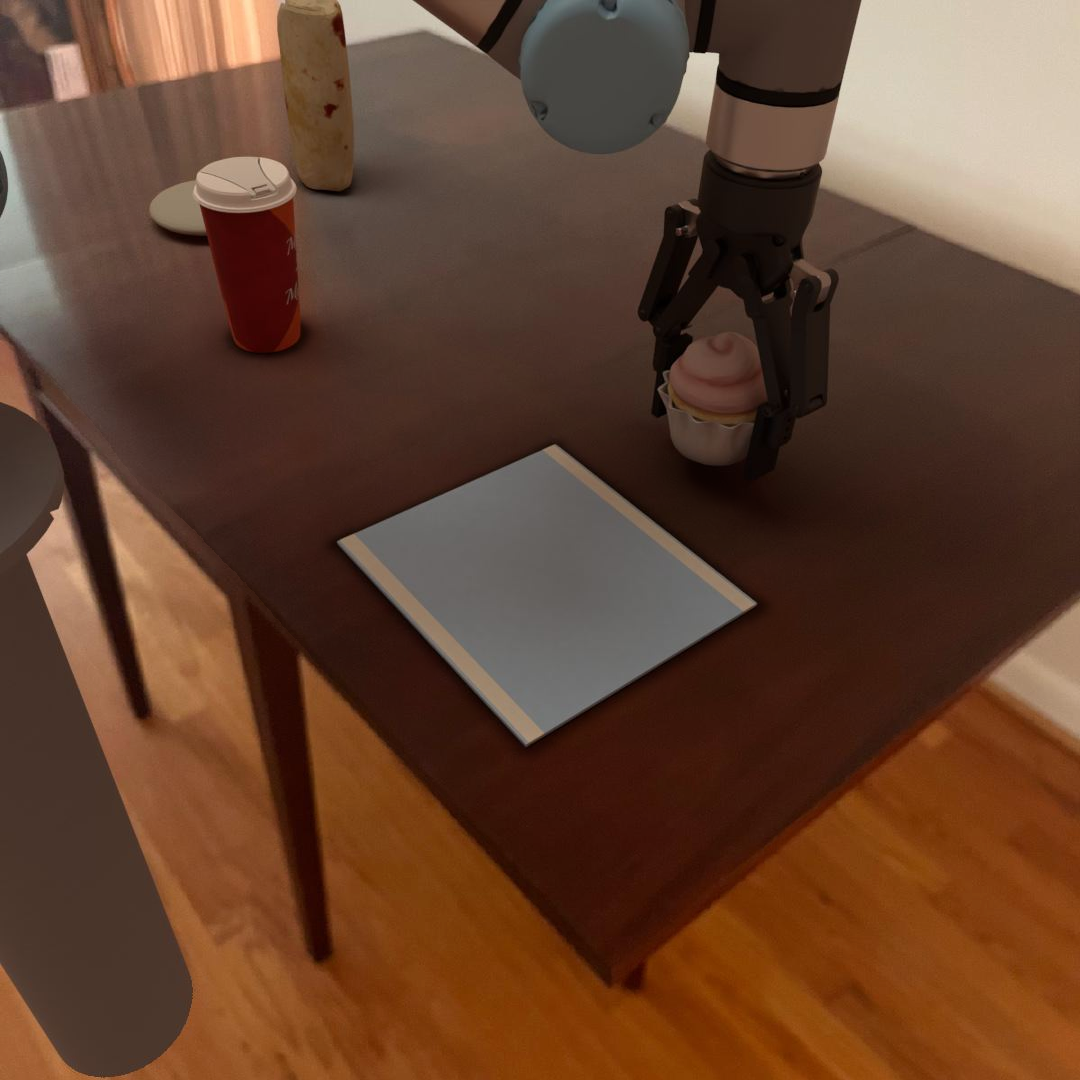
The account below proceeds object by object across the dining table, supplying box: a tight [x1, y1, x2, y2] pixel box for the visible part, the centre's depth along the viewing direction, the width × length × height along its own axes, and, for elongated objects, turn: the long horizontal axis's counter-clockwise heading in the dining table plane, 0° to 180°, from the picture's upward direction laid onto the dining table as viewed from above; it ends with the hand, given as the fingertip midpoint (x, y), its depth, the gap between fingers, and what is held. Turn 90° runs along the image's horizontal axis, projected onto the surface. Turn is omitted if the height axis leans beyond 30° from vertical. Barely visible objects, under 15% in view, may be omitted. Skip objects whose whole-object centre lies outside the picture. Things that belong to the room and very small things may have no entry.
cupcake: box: [657, 330, 768, 467], centre depth 78 cm, size 9×9×10 cm
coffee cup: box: [193, 156, 301, 354], centre depth 90 cm, size 8×8×15 cm
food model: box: [276, 0, 355, 192], centre depth 113 cm, size 10×7×20 cm
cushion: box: [148, 179, 207, 237], centre depth 110 cm, size 12×12×3 cm
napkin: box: [336, 443, 758, 748], centre depth 73 cm, size 22×20×1 cm
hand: (710, 441), depth 81 cm, fingers closed on cupcake, 9 cm apart
